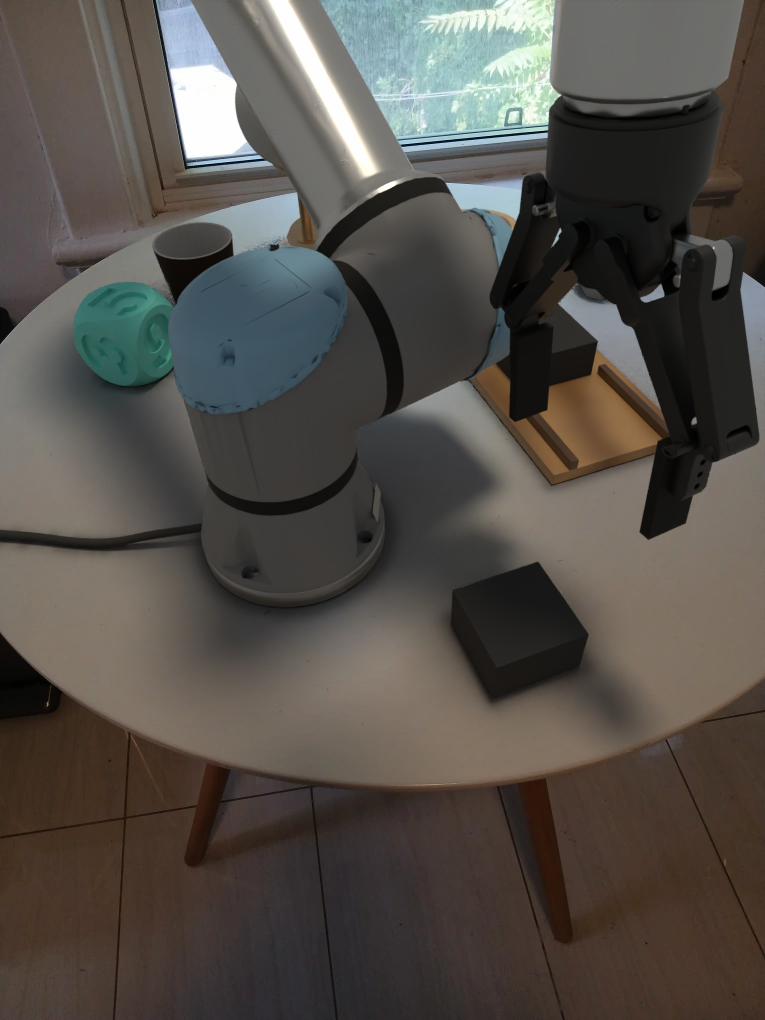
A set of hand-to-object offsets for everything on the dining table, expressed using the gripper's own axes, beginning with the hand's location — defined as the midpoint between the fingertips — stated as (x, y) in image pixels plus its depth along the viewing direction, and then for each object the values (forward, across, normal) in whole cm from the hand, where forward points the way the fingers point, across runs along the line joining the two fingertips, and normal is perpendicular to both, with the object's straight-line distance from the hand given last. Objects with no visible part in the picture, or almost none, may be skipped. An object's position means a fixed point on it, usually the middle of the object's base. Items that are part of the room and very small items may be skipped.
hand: (588, 465), depth 47 cm
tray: (+12, +21, -14) cm, 28 cm away
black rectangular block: (+14, -1, +6) cm, 15 cm away
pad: (+11, +26, -15) cm, 32 cm away
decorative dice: (+9, +48, +22) cm, 54 cm away
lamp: (+9, +54, -11) cm, 56 cm away
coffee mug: (+9, +54, +12) cm, 56 cm away
